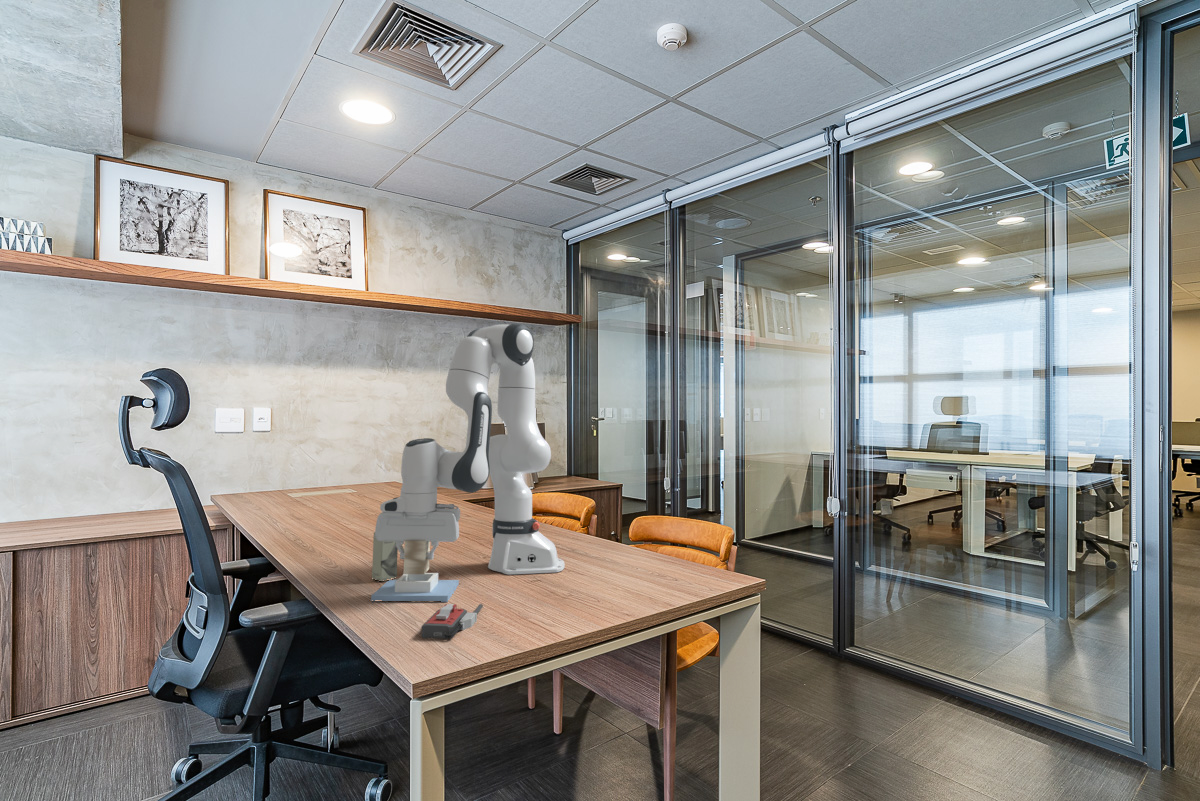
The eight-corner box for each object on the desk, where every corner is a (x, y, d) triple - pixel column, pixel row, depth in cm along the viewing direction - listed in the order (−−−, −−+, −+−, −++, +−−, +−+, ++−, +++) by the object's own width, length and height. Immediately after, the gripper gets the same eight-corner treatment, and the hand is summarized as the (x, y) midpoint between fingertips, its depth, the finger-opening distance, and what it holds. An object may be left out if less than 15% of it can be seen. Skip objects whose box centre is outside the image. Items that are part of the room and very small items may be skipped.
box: (380, 582, 160) (381, 534, 160) (371, 580, 162) (372, 532, 163) (398, 578, 164) (399, 531, 164) (388, 576, 166) (389, 529, 167)
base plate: (458, 585, 158) (459, 570, 158) (447, 602, 144) (447, 585, 144) (389, 585, 157) (389, 570, 157) (371, 602, 143) (371, 585, 143)
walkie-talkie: (460, 644, 119) (485, 611, 139) (461, 621, 119) (486, 592, 139) (417, 642, 119) (448, 610, 139) (417, 620, 119) (448, 591, 139)
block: (429, 569, 153) (430, 537, 153) (424, 574, 148) (425, 541, 148) (409, 569, 153) (410, 537, 153) (403, 574, 148) (404, 541, 148)
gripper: (462, 502, 155) (461, 556, 154) (382, 501, 154) (380, 555, 153) (458, 505, 148) (456, 562, 148) (373, 504, 147) (371, 561, 147)
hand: (416, 559), depth 150 cm, fingers closed on block, 5 cm apart
